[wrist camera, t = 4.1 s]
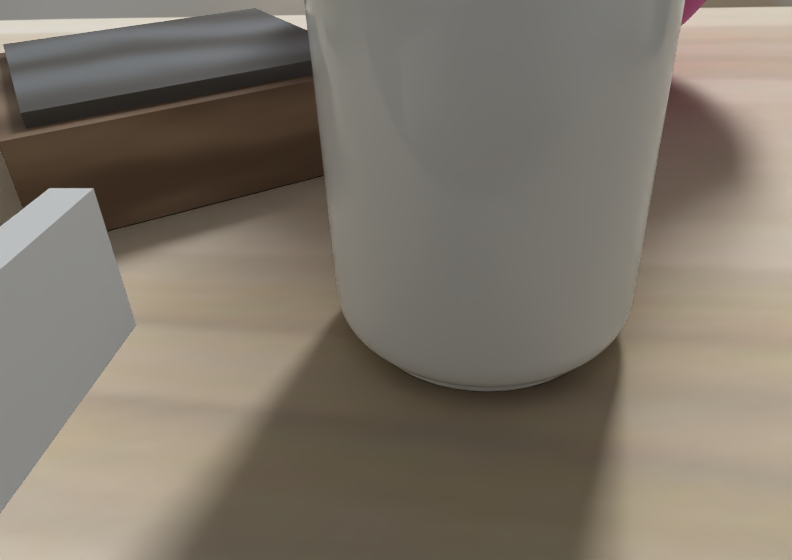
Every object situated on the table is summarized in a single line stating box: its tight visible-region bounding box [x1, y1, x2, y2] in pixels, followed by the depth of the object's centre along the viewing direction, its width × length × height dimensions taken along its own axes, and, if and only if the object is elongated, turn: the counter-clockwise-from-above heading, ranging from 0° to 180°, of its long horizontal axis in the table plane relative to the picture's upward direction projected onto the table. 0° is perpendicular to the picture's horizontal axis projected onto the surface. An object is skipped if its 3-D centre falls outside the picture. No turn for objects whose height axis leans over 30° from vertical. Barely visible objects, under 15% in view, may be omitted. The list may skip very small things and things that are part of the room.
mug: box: [304, 0, 685, 391], centre depth 20 cm, size 12×9×11 cm
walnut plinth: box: [0, 9, 324, 231], centre depth 34 cm, size 16×16×5 cm
